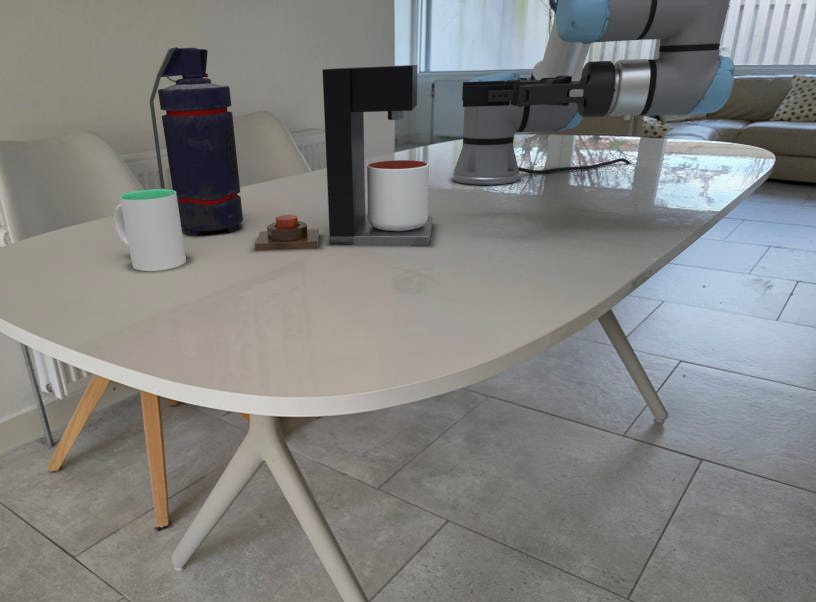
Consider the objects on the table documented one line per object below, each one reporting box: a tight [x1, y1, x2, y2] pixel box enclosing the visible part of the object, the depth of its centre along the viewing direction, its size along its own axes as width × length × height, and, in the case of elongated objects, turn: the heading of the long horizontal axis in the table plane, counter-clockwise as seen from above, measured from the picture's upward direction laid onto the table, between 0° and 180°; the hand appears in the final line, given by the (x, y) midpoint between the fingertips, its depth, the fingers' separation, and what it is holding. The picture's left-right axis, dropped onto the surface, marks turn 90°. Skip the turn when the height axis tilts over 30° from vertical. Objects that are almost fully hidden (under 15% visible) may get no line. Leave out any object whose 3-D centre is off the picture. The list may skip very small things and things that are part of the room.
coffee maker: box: [322, 64, 433, 247], centre depth 100 cm, size 16×14×26 cm
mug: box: [113, 188, 187, 272], centre depth 94 cm, size 12×8×10 cm, turn 61°
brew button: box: [275, 214, 299, 229], centre depth 102 cm, size 4×4×2 cm
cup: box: [366, 159, 430, 231], centre depth 103 cm, size 10×10×10 cm
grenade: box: [149, 46, 244, 237], centre depth 108 cm, size 14×12×30 cm
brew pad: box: [254, 220, 320, 252], centre depth 102 cm, size 10×8×3 cm
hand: (462, 93), depth 94 cm, fingers open, 13 cm apart
